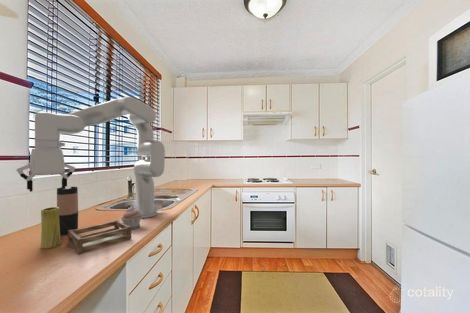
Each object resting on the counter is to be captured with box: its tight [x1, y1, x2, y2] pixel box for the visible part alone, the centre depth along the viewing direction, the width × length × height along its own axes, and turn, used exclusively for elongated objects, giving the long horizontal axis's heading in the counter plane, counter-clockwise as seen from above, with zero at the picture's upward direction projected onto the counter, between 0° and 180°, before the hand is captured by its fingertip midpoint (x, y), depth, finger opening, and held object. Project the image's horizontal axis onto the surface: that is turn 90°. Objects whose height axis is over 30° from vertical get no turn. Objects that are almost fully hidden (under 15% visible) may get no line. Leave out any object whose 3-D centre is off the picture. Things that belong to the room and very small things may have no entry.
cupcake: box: [120, 206, 143, 230], centre depth 107 cm, size 9×9×10 cm
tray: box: [67, 219, 132, 255], centre depth 90 cm, size 18×14×5 cm
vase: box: [40, 206, 62, 250], centre depth 86 cm, size 6×6×14 cm
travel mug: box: [56, 186, 79, 236], centre depth 101 cm, size 8×8×20 cm
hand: (47, 189), depth 86 cm, fingers open, 9 cm apart
